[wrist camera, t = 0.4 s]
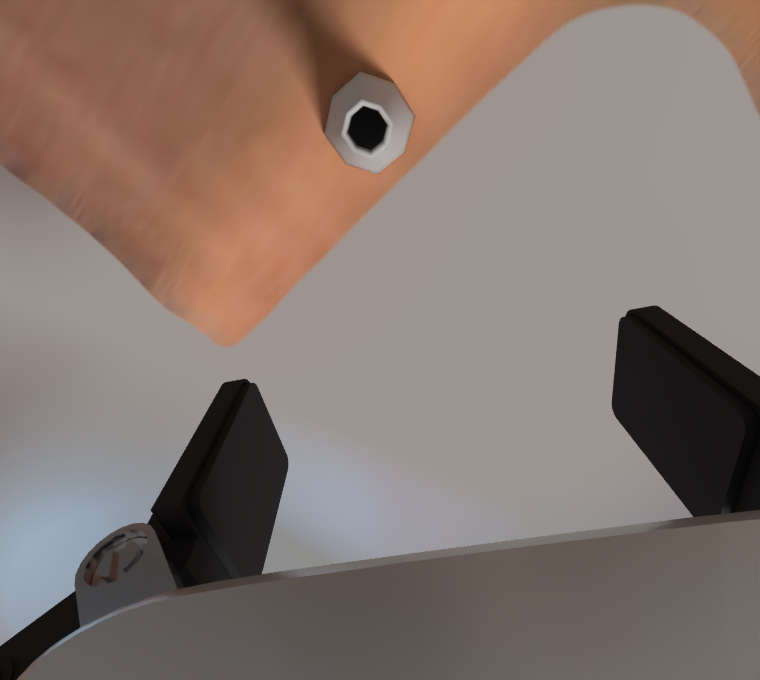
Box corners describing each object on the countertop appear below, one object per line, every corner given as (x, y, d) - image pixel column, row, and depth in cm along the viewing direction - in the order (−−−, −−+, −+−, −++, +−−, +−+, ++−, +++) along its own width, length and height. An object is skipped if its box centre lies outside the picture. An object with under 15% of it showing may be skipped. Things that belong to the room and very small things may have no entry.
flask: (309, 137, 34) (287, 145, 26) (357, 51, 32) (349, 28, 23) (380, 188, 37) (381, 212, 28) (430, 112, 34) (448, 112, 25)
